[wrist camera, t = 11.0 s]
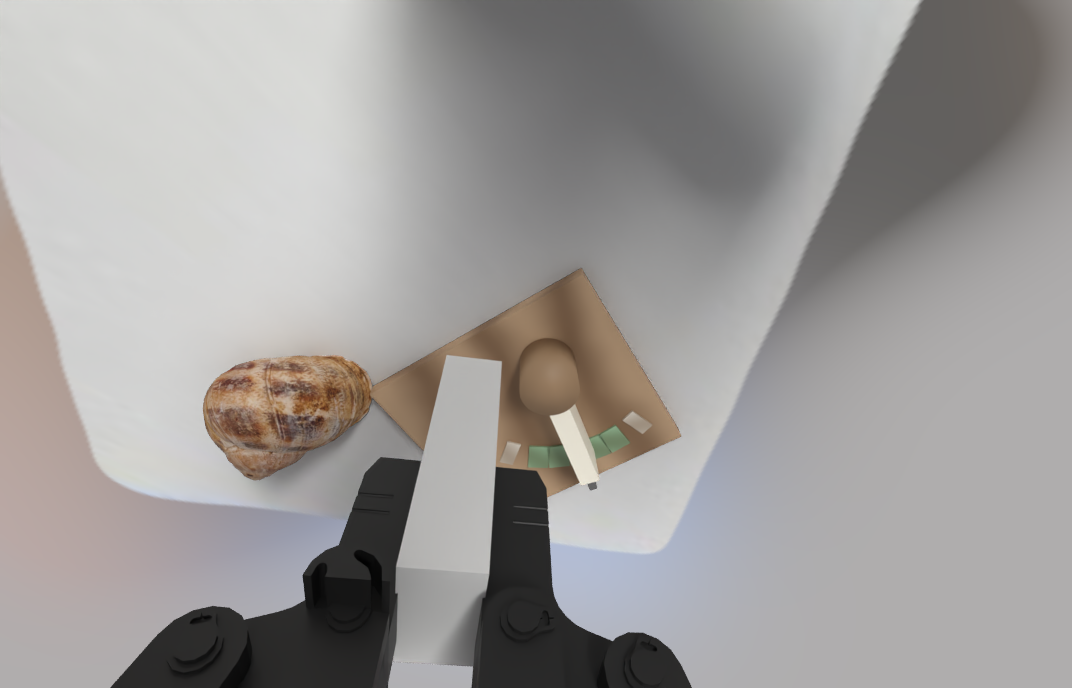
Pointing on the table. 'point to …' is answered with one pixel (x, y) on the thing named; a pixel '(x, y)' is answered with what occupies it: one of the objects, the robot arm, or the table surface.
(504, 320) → the dial board
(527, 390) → the lever
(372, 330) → the table surface
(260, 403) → the seashell
